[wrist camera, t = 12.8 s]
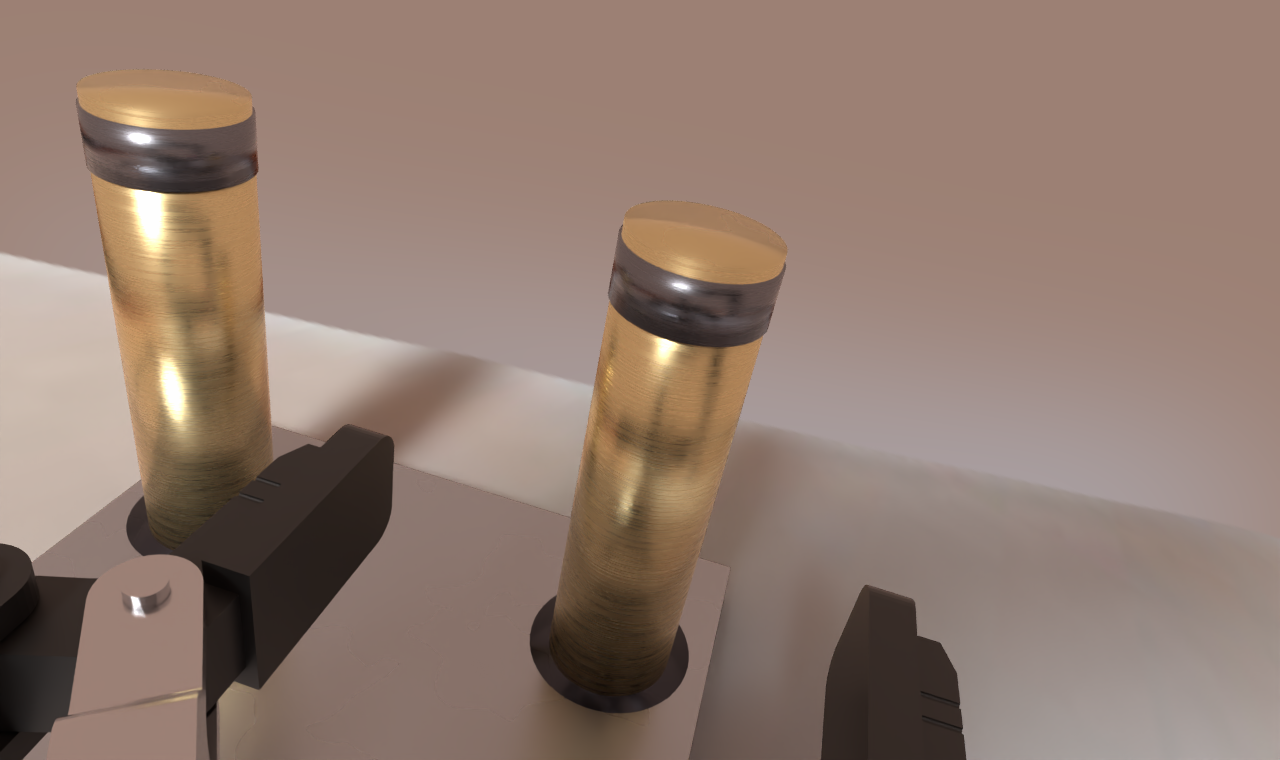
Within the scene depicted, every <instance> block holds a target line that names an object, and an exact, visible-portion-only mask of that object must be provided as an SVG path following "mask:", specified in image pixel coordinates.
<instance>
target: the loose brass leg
mask: <svg viewBox="0 0 1280 760" xmlns="http://www.w3.org/2000/svg"><path fill="white" fill-rule="evenodd" d="M786 255H787V246H786V244H785V242H784V241H783V240H782V238H781V237H780V236H779V235H778V234H776V233H775V232H774V231H773V230H771V229H770V228H768V227H766V226H765V225H763V224H761V223H759V222H757V221H755V220H753V219H751V218H749V217H746V216H744V215H741V214H738V213H735V212H732V211H729V210H726V209H722V208H718V207H714V206H710V205H705V204H699V203H693V202H683V201H652V202H646V203H641V204H638V205H636V206H633V207H632V208H630V209H629V210H628V211H627V212H626V214H625V217H624V222H623V225H622V226H621V228H620V230H619V235H618V240H617V246H616V252H615V257H614V263H613V268H612V274H611V280H610V286H609V292H608V296H609V300H610V301H609V306H608V312H607V318H606V323H605V329H604V334H603V340H602V346H601V351H600V357H599V362H598V368H597V374H596V379H595V384H594V390H593V396H592V401H591V407H590V412H589V418H588V424H587V429H586V435H585V440H584V446H583V452H582V457H581V463H580V468H579V474H578V480H577V485H576V491H575V496H574V502H573V508H572V513H571V519H570V524H569V530H568V536H567V541H566V547H565V552H564V558H563V564H562V569H561V575H560V580H559V586H558V592H557V597H556V603H555V608H554V614H553V620H552V625H551V631H550V636H549V647H550V652H551V655H552V658H553V660H554V662H555V664H556V666H557V667H558V669H559V670H560V671H561V672H562V673H563V675H564V676H565V677H567V678H568V679H569V680H570V681H571V682H573V683H574V684H576V685H577V686H579V687H581V688H583V689H585V690H588V691H590V692H593V693H596V694H600V695H606V696H626V695H631V694H635V693H638V692H641V691H643V690H645V689H647V688H649V687H650V686H652V685H653V684H654V683H655V682H656V681H657V680H658V679H659V678H660V677H661V676H662V674H663V672H664V671H665V668H666V666H667V663H668V659H669V656H670V653H671V649H672V646H673V642H674V639H675V635H676V632H677V629H678V625H679V622H680V618H681V615H682V612H683V608H684V605H685V601H686V598H687V594H688V591H689V588H690V584H691V581H692V577H693V574H694V570H695V567H696V564H697V560H698V557H699V553H700V550H701V546H702V543H703V540H704V536H705V533H706V529H707V526H708V523H709V519H710V516H711V512H712V509H713V505H714V502H715V499H716V495H717V492H718V488H719V485H720V481H721V478H722V475H723V471H724V468H725V464H726V461H727V457H728V454H729V451H730V447H731V444H732V440H733V437H734V434H735V430H736V427H737V423H738V420H739V416H740V413H741V410H742V406H743V403H744V399H745V396H746V392H747V389H748V386H749V382H750V379H751V375H752V371H753V369H754V365H755V362H756V358H757V355H758V351H759V348H760V345H761V341H762V338H763V335H764V334H765V333H766V332H767V329H768V326H769V323H770V320H771V316H772V313H773V310H774V306H775V303H776V300H777V296H778V293H779V289H780V286H781V283H782V279H783V276H784V272H785V268H786V264H785V259H786Z"/></svg>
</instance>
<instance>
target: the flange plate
mask: <svg viewBox="0 0 1280 760" xmlns="http://www.w3.org/2000/svg"><path fill="white" fill-rule="evenodd" d="M271 427H272V444H273V461H274V460H276V459H277V458H278V457H279V456H282V455H284V454H286V453H288V452H291V451H293V450H295V449H297V448H300V447H302V446H304V445H306V444H311V445H315V446H318V447H321V446H322V445H324V444H325V443H326V442H324V441H321V440H317V439H314V438H311V437H308V436H304V435H301V434H298V433H295V432H291V431H288V430H285V429H282V428H279V427H275V426H272V425H271ZM570 519H571V518H569V517H566V516H563V515H560V514H556V513H553V512H550V511H547V510H543V509H540V508H537V507H534V506H531V505H527V504H524V503H521V502H518V501H514V500H511V499H508V498H505V497H501V496H498V495H495V494H492V493H489V492H485V491H482V490H479V489H476V488H472V487H469V486H466V485H463V484H459V483H456V482H453V481H450V480H447V479H443V478H440V477H437V476H434V475H430V474H427V473H424V472H421V471H417V470H414V469H411V468H408V467H405V466H401V465H398V464H395V463H393V494H392V510H391V515H390V519H389V522H388V525H387V527H386V530H385V532H384V534H383V536H382V537H381V539H380V541H379V542H378V543H377V545H376V546H375V547H374V548H373V550H372V551H371V552H370V553H369V555H368V556H367V557H366V558H365V560H364V561H363V562H362V563H361V565H360V566H359V567H358V568H357V570H356V571H355V572H354V573H353V575H352V576H351V577H350V578H349V580H348V581H347V582H346V583H345V585H344V586H343V587H342V588H341V589H340V591H339V592H338V593H337V594H336V596H335V597H334V598H333V599H332V601H331V602H330V603H329V604H328V606H327V607H326V608H325V609H324V611H323V612H322V613H321V614H320V616H319V617H318V618H317V619H316V621H315V622H314V623H313V624H312V626H311V627H310V628H309V629H308V631H307V632H306V633H305V634H304V636H303V637H302V638H301V639H300V640H299V642H298V643H297V644H296V645H295V647H294V648H293V649H292V650H291V652H290V653H289V654H288V655H287V657H286V658H285V659H284V660H283V662H282V663H281V664H280V665H279V667H278V668H277V669H276V670H275V672H274V673H273V674H272V675H271V677H270V678H269V679H268V680H267V682H266V683H265V684H264V685H263V687H262V688H261V689H260V690H257V689H254V688H251V687H249V686H246V685H243V684H240V683H237V682H233V683H232V684H231V685H230V687H229V688H228V689H227V690H226V691H225V692H224V694H223V695H222V696H221V697H220V698H219V699H218V701H219V718H220V760H688V759H689V755H690V750H691V746H692V741H693V737H694V732H695V728H696V723H697V718H698V714H699V709H700V705H701V700H702V696H703V691H704V687H705V682H706V677H707V673H708V668H709V664H710V659H711V655H712V650H713V646H714V641H715V636H716V632H717V627H718V623H719V618H720V614H721V609H722V605H723V600H724V595H725V591H726V586H727V582H728V577H729V573H730V568H731V567H728V566H724V565H721V564H718V563H715V562H711V561H708V560H705V559H702V558H699V557H698V560H697V564H696V567H695V570H694V574H693V577H692V581H691V584H690V588H689V591H688V594H687V598H686V601H685V605H684V608H683V612H682V615H681V618H680V622H679V625H678V629H677V632H676V635H675V639H674V642H673V646H672V649H671V653H670V656H669V659H668V663H667V666H666V668H665V671H664V672H663V674H662V676H661V677H660V678H659V679H658V680H657V681H656V682H655V683H654V684H653V685H652V686H650V687H649V688H647V689H645V690H643V691H641V692H638V693H635V694H631V695H626V696H606V695H600V694H596V693H593V692H590V691H588V690H585V689H583V688H581V687H579V686H577V685H576V684H574V683H573V682H571V681H570V680H569V679H568V678H567V677H565V676H564V675H563V673H562V672H561V671H560V670H559V669H558V667H557V666H556V664H555V662H554V660H553V658H552V655H551V652H550V647H549V636H550V631H551V625H552V620H553V614H554V608H555V603H556V597H557V592H558V586H559V580H560V575H561V569H562V564H563V558H564V552H565V547H566V541H567V536H568V530H569V524H570ZM172 551H174V550H171V549H169V548H167V547H165V546H163V545H161V544H160V543H159V542H158V541H157V540H156V539H155V538H154V537H153V535H152V534H151V532H150V528H149V523H148V517H147V511H146V505H145V499H144V493H143V487H142V481H141V480H140V481H138V482H137V483H136V484H134V485H133V486H132V487H130V488H129V489H128V490H126V491H125V492H124V493H122V494H121V495H120V496H118V497H117V498H116V499H115V500H113V501H112V502H111V503H109V504H108V505H107V506H105V507H104V508H103V509H101V510H100V511H99V512H97V513H96V514H95V515H94V516H92V517H91V518H90V519H88V520H87V521H86V522H84V523H83V524H82V525H80V526H79V527H78V528H76V529H75V530H74V531H72V532H71V533H70V534H69V535H67V536H66V537H65V538H63V539H62V540H61V541H59V542H58V543H57V544H55V545H54V546H53V547H51V548H50V549H49V550H47V551H46V552H45V553H44V554H42V555H41V556H40V557H38V558H37V559H36V560H34V561H33V562H32V566H33V570H34V574H35V576H55V577H75V578H99V577H101V576H102V575H103V574H104V573H105V572H107V571H108V570H110V569H111V568H113V567H115V566H117V565H119V564H121V563H123V562H126V561H128V560H131V559H134V558H138V557H142V556H148V555H158V554H160V555H169V554H170V553H171V552H172ZM50 735H51V732H48V733H47V734H46V735H45V736H44V737H43V738H42V739H41V740H40V741H39V742H38V744H37V745H36V746H35V747H34V748H33V749H32V750H31V751H30V752H29V753H28V754H27V755H26V756H25V757H24V759H23V760H46V758H47V752H48V746H49V741H50Z"/></svg>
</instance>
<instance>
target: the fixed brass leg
mask: <svg viewBox="0 0 1280 760" xmlns="http://www.w3.org/2000/svg"><path fill="white" fill-rule="evenodd" d="M76 87H77V93H78V98H77V99H76V106H77V113H78V119H79V125H80V131H81V136H82V143H83V148H84V154H85V160H86V165H87V168H88V169H89V171H90V172H91V178H92V184H93V190H94V196H95V202H96V208H97V214H98V221H99V227H100V233H101V239H102V245H103V251H104V257H105V263H106V268H107V275H108V281H109V287H110V293H111V299H112V305H113V311H114V317H115V323H116V330H117V336H118V342H119V348H120V354H121V360H122V366H123V372H124V378H125V384H126V390H127V396H128V402H129V408H130V414H131V420H132V426H133V432H134V438H135V444H136V450H137V457H138V463H139V469H140V475H141V481H142V487H143V493H144V499H145V505H146V511H147V517H148V523H149V528H150V532H151V534H152V535H153V537H154V538H155V539H156V540H157V541H158V542H159V543H160V544H161V545H163V546H165V547H167V548H169V549H171V550H175V549H176V548H177V547H178V546H179V545H180V544H181V543H183V542H184V541H185V540H186V539H187V538H188V537H189V536H190V535H191V534H193V533H194V532H195V531H196V530H197V529H198V528H199V527H200V526H202V525H203V524H204V523H205V522H206V521H207V520H208V519H209V518H211V517H212V516H213V515H214V514H215V513H216V512H217V511H218V510H220V509H221V508H222V507H223V506H224V505H225V504H226V503H227V502H228V501H230V500H231V499H232V498H233V497H234V496H238V495H239V492H240V491H241V490H242V489H243V488H244V487H245V486H246V485H248V484H249V483H250V482H251V481H252V480H254V481H255V480H256V478H257V476H258V475H259V474H260V473H261V472H262V471H263V470H264V469H265V468H267V467H268V466H269V465H270V464H271V463H272V462H273V444H272V427H271V411H270V394H269V377H268V361H267V344H266V327H265V311H264V295H263V277H262V261H261V244H260V228H259V212H258V196H257V178H256V174H257V172H258V151H257V135H256V117H255V110H254V108H253V106H252V96H251V94H250V92H249V91H248V90H246V89H245V88H244V87H242V86H240V85H238V84H235V83H233V82H230V81H227V80H224V79H220V78H216V77H212V76H207V75H202V74H196V73H189V72H181V71H169V70H149V69H135V70H134V69H133V70H116V71H108V72H102V73H97V74H93V75H90V76H87V77H84V78H82V79H81V80H80V81H79V82H78V83H77V86H76Z"/></svg>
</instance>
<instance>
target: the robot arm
mask: <svg viewBox="0 0 1280 760" xmlns="http://www.w3.org/2000/svg"><path fill="white" fill-rule="evenodd" d="M393 463H394V443H393V440H392V438H391V437H389V436H386V435H383V434H380V433H377V432H373V431H370V430H367V429H363V428H360V427H357V426H354V425H350V424H348V425H345V426H343V427H342V428H341V429H339V430H338V431H337V432H336V433H335V434H334V435H333V436H332V437H331V438H330V439H329V440H328V441H327V442H326V443H325V444H324V445H322V446H321V447H318V446H315V445H311V444H306V445H304V446H302V447H300V448H297V449H295V450H293V451H291V452H288V453H286V454H284V455H282V456H279V457H278V458H277V459H276V460H274V461H273V462H272V463H271V464H270V465H269V466H268V467H267V468H265V469H264V470H263V471H262V472H261V473H260V474H259V475H258V476H257V478H256V480H255V481H254V480H252V481H251V482H250V483H249V484H248V485H246V486H245V487H244V488H243V489H242V490H241V491H240V492H239V495H238V496H234V497H233V498H232V499H231V500H230V501H228V502H227V503H226V504H225V505H224V506H223V507H222V508H221V509H220V510H218V511H217V512H216V513H215V514H214V515H213V516H212V517H211V518H209V519H208V520H207V521H206V522H205V523H204V524H203V525H202V526H200V527H199V528H198V529H197V530H196V531H195V532H194V533H193V534H191V535H190V536H189V537H188V538H187V539H186V540H185V541H184V542H183V543H181V544H180V545H179V546H178V547H177V548H176V549H175V550H174V551H172V552H171V553H170V554H169V555H160V554H158V555H148V556H142V557H138V558H134V559H131V560H128V561H126V562H123V563H121V564H119V565H117V566H115V567H113V568H111V569H110V570H108V571H107V572H105V573H104V574H103V575H102V576H101V577H99V578H75V577H55V576H35V574H34V570H33V566H32V562H31V560H30V558H29V556H28V555H27V554H26V553H25V552H24V551H22V550H21V549H19V548H17V547H14V546H11V545H6V544H0V760H23V759H24V757H25V756H26V755H27V754H28V753H29V752H30V751H31V750H32V749H33V748H34V747H35V746H36V745H37V744H38V742H39V741H40V740H41V739H42V738H43V737H44V736H45V735H46V734H47V733H48V732H51V735H50V741H49V746H48V752H47V758H46V760H220V718H219V701H218V699H219V698H220V697H221V696H222V695H223V694H224V692H225V691H226V690H227V689H228V688H229V687H230V685H231V684H232V683H233V682H237V683H240V684H243V685H246V686H249V687H251V688H254V689H257V690H260V689H261V688H262V687H263V685H264V684H265V683H266V682H267V680H268V679H269V678H270V677H271V675H272V674H273V673H274V672H275V670H276V669H277V668H278V667H279V665H280V664H281V663H282V662H283V660H284V659H285V658H286V657H287V655H288V654H289V653H290V652H291V650H292V649H293V648H294V647H295V645H296V644H297V643H298V642H299V640H300V639H301V638H302V637H303V636H304V634H305V633H306V632H307V631H308V629H309V628H310V627H311V626H312V624H313V623H314V622H315V621H316V619H317V618H318V617H319V616H320V614H321V613H322V612H323V611H324V609H325V608H326V607H327V606H328V604H329V603H330V602H331V601H332V599H333V598H334V597H335V596H336V594H337V593H338V592H339V591H340V589H341V588H342V587H343V586H344V585H345V583H346V582H347V581H348V580H349V578H350V577H351V576H352V575H353V573H354V572H355V571H356V570H357V568H358V567H359V566H360V565H361V563H362V562H363V561H364V560H365V558H366V557H367V556H368V555H369V553H370V552H371V551H372V550H373V548H374V547H375V546H376V545H377V543H378V542H379V541H380V539H381V537H382V536H383V534H384V532H385V530H386V527H387V525H388V522H389V519H390V515H391V510H392V494H393ZM959 705H960V697H959V688H958V679H957V673H956V671H955V669H954V667H953V665H952V663H951V662H950V660H949V658H948V656H947V654H946V652H945V650H944V649H943V647H942V645H941V643H939V642H936V641H933V640H930V639H927V638H923V637H920V636H917V624H916V608H915V602H914V600H913V599H911V598H908V597H905V596H901V595H898V594H895V593H892V592H888V591H885V590H882V589H879V588H875V587H872V586H869V585H865V586H864V587H863V589H862V590H861V592H860V594H859V597H858V599H857V601H856V603H855V606H854V608H853V610H852V612H851V615H850V617H849V619H848V622H847V624H846V626H845V628H844V631H843V633H842V635H841V637H840V640H839V642H838V644H837V647H836V649H835V651H834V654H833V657H832V660H831V664H830V668H829V672H828V677H827V683H826V693H825V708H824V724H823V739H822V755H821V760H966V752H965V743H964V735H963V734H962V729H963V725H962V716H961V709H959Z"/></svg>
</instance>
